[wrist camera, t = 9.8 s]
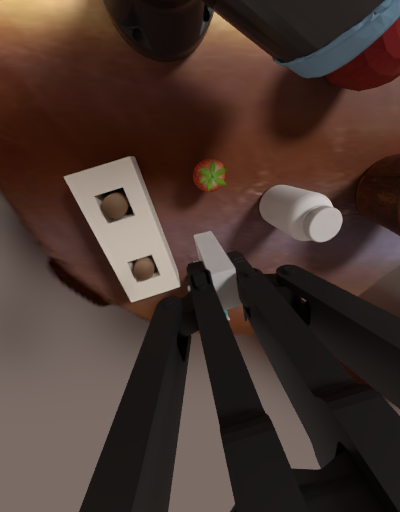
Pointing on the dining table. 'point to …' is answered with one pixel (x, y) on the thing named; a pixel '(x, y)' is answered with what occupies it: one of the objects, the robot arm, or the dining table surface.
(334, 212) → the pill bottle
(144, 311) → the dining table surface
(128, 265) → the socket block
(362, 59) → the apple
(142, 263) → the peg
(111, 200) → the peg
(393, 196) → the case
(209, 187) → the fruit
